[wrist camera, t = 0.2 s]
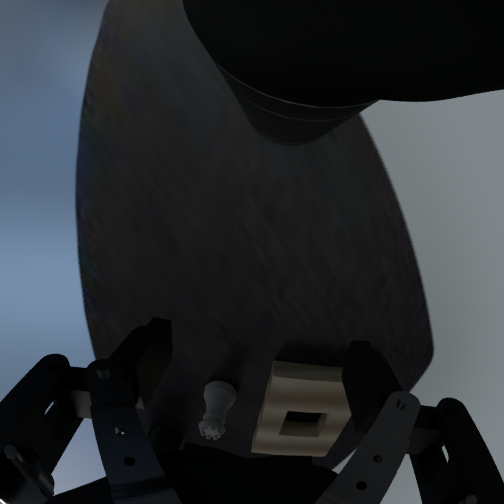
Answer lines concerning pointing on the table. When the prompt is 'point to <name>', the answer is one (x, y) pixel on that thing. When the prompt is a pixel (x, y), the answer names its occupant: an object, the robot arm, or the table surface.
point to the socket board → (301, 410)
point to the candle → (164, 439)
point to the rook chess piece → (216, 408)
